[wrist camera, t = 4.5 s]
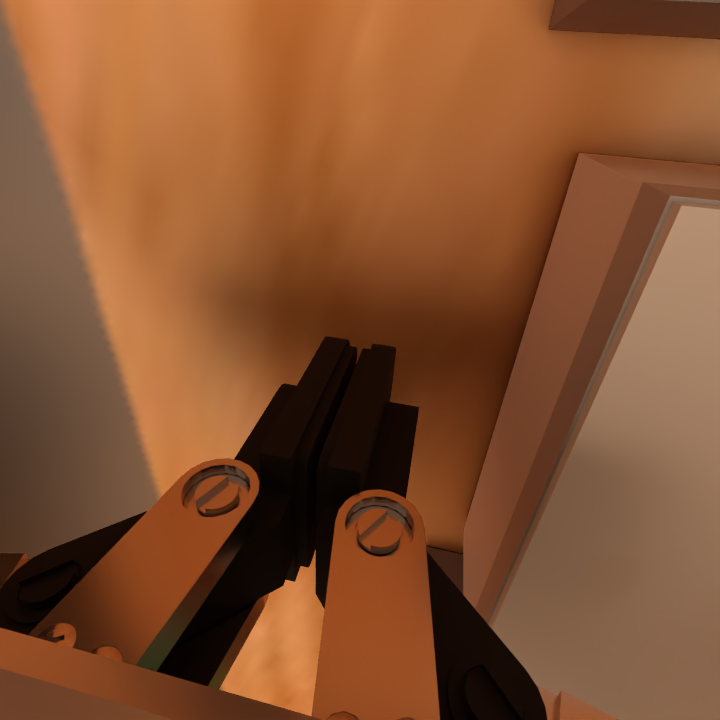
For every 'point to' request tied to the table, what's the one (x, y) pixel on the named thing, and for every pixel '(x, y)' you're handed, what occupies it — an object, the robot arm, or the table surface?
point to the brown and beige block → (613, 452)
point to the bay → (625, 16)
